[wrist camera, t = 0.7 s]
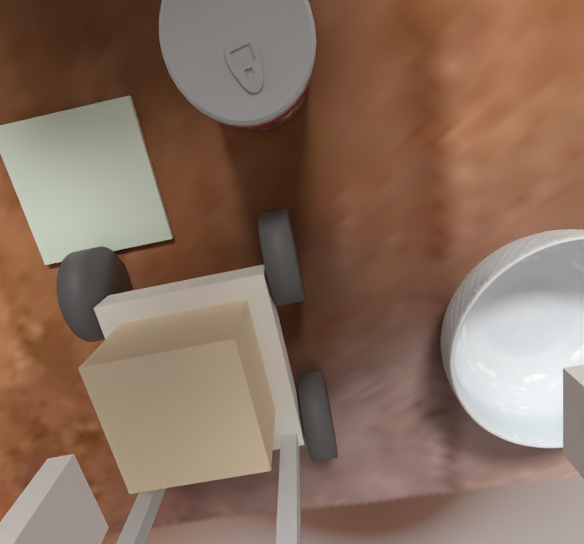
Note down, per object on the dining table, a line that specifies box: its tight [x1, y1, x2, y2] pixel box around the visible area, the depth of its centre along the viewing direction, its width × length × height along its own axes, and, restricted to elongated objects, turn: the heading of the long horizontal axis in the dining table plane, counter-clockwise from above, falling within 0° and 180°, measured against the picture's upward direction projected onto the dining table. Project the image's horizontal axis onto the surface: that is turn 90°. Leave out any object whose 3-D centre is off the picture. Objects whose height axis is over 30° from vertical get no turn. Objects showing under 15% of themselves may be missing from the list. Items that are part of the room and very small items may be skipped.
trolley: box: [57, 208, 338, 544], centre depth 27 cm, size 21×16×21 cm
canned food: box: [159, 0, 317, 131], centre depth 25 cm, size 8×8×11 cm
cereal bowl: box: [441, 229, 584, 448], centre depth 32 cm, size 17×17×7 cm
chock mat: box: [0, 95, 174, 265], centre depth 33 cm, size 11×11×1 cm
